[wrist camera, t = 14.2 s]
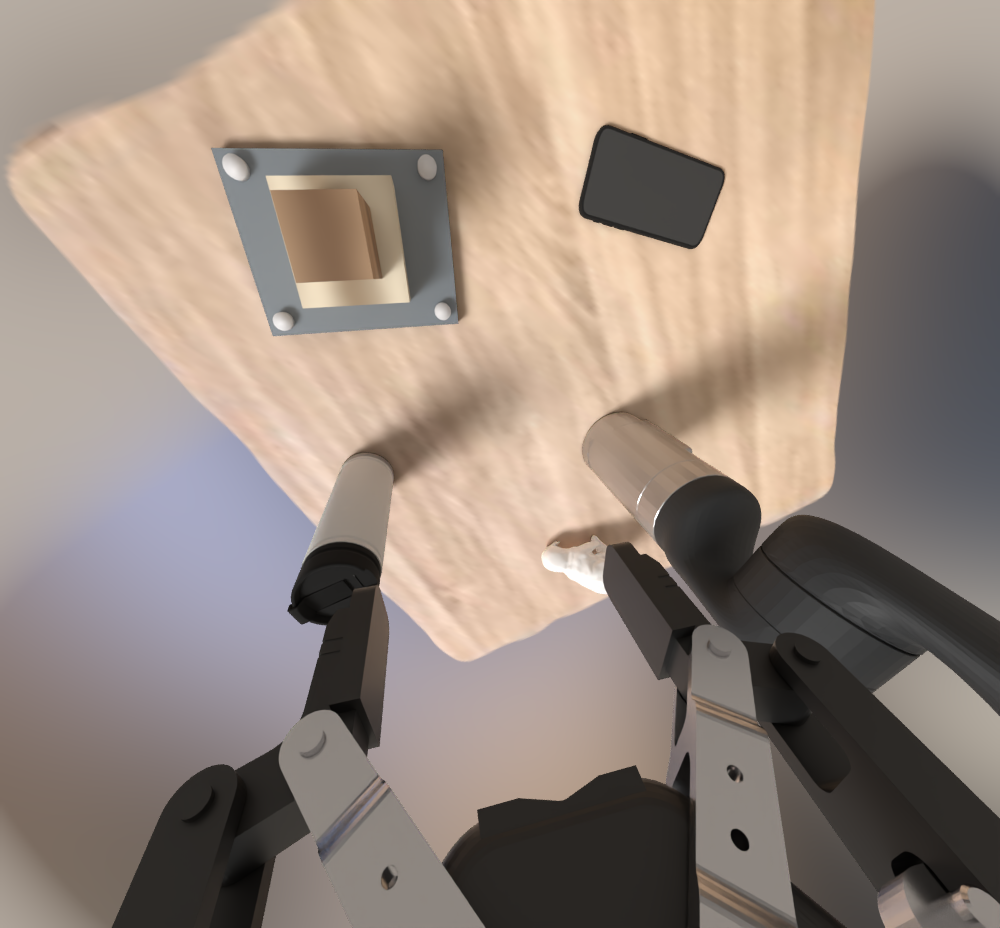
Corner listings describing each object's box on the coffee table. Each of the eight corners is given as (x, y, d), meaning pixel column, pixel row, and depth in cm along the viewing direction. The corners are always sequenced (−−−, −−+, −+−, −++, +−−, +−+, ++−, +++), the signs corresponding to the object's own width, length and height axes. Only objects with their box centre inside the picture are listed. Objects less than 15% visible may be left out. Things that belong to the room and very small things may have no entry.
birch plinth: (394, 186, 31) (391, 175, 28) (410, 299, 35) (409, 302, 32) (283, 187, 30) (265, 175, 26) (314, 305, 34) (302, 308, 30)
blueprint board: (441, 153, 32) (443, 146, 30) (457, 322, 38) (459, 324, 36) (218, 152, 29) (205, 144, 27) (277, 334, 35) (269, 337, 34)
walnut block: (370, 207, 28) (356, 188, 22) (382, 278, 31) (373, 279, 24) (302, 209, 27) (269, 190, 21) (321, 281, 30) (296, 283, 24)
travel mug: (327, 464, 43) (264, 594, 25) (378, 444, 43) (350, 558, 25) (355, 503, 46) (315, 642, 28) (402, 484, 46) (392, 611, 28)
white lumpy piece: (621, 605, 52) (544, 600, 50) (601, 565, 60) (533, 558, 58) (637, 573, 50) (556, 566, 47) (613, 535, 57) (543, 527, 55)
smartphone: (698, 251, 39) (577, 215, 35) (693, 252, 40) (574, 217, 36) (729, 169, 36) (600, 119, 32) (723, 171, 37) (596, 123, 33)
